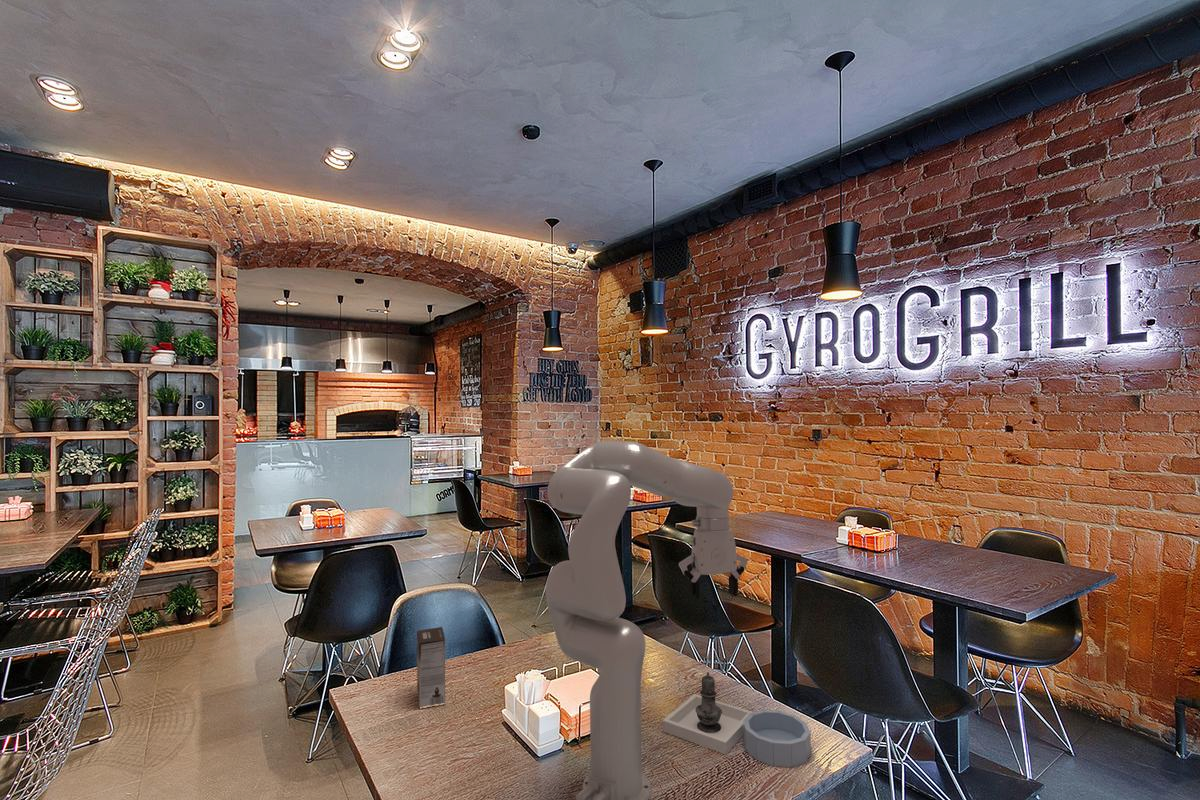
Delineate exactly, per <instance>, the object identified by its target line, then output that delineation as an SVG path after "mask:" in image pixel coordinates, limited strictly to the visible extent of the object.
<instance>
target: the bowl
mask: <svg viewBox="0 0 1200 800" xmlns="http://www.w3.org/2000/svg"><path fill="white" fill-rule="evenodd" d="M752 712H753V713H750V714H749V715H748V716H747V717H746V718H745V719H744V720H743V723H744V736H743V743H744V749H745V751H746V753H748V754H749V755H750V756H752V758H754V759H755V760H756V761H758V762H760V763H761V762H762V763H764V764H767V765H769V766H772V767H780V768H781V767H786V768H794V767H797V766H800V765H803V763H804V764H806V763H807V762H806V761H808V760H809V759H810V757H811V755H812V744H811V743H812V742H811V736H812V735H811V733H812V732H811V730H810V728H809V725H808V723H807V722H806V721H804V720H803V719H801V718H799V717H798V716H797V715H795V714H792V713H788V712H785V711H781V710H772V709H761V710H758V711H752ZM808 758H809V759H808Z"/></svg>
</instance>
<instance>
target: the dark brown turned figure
mask: <svg viewBox="0 0 1200 800" xmlns="http://www.w3.org/2000/svg"><path fill="white" fill-rule="evenodd" d="M715 684H716V681H715V678H714V677H713V676H711V675H710V672H708V671H707V673H706V675H704V676H702V678H701V690H700V692H699V694H700V696H702V703H701V705H699V706H697V707H696V709H695V711H696V713H697V716H698V719H699V720H700V722H698V724H697V728H698V729H699V730H700V731H702V732H705V733H716V732H718V731H720V730H721V725H720V724H719V723H718V721H719V720H720V717H721V714H722V710H721V709H720V708H719V707H718V706H716V703H715V700H716V697H717V692H716V689H715V688H716V685H715Z"/></svg>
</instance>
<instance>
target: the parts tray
mask: <svg viewBox="0 0 1200 800" xmlns="http://www.w3.org/2000/svg"><path fill="white" fill-rule="evenodd" d="M701 703H702V695H701V694H700V695H699V694H697V693H694V694H692V695H691V696H690V697H689V698H687V700H685V701H684V702H683V703H682V704H680V705H679V706H678V707H677V708H676V709H675V710H673V711H671V712H670V714H668V715H667V716H666V717H665V718H664V719H662V733H664V732H666V733H665V734H667V733H668V734H667V735H670V734H671V735H670V736H672V735H674V736H673V737H675V736H677V737H676V738H678V737H679V739H681V738H682V739H681V740H683V739H684V741H686V740H687V741H686V742H689V741H690V742H689V743H692V742H693V743H692V744H694V743H695V745H697V744H699V745H698V746H700V745H702V746H701V747H703V746H704V747H703V748H705V747H707V748H706V749H708V748H709V750H711V751H714V750H715V751H714V752H717V753H720V754H722V755H725V756H727V754H728V753H729V752H730V751H731V750H732V749H733V748H734V747H735V746H736V744H737V743H738V742H739V741H740V740H741V739H742V738H744V723H743V720H744V719H745V718H746V717H747V716H748V715H749V714H750V713H753V712H754V711H751V710H750V709H749V710H747V709H745V708H742V707H739V706H735V705H733V704H729V703H725V702H722V701H719V700H716V699H715V703H716V706H718V707H719V708H720V709H721V710H722V714H721V717H720V720H719V721H718V723H719V724H720V725H721V730H720V731H718V732H716V733H705V732H702V731H700V730H699V729H698V728H697V724H698V722H700V720H699V719H698V716H697V713H696V711H695V709H696V707H697V706H699V705H701ZM734 745H735V746H734ZM733 746H734V747H733ZM732 747H733V748H732Z"/></svg>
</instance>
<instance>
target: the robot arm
mask: <svg viewBox="0 0 1200 800" xmlns="http://www.w3.org/2000/svg"><path fill="white" fill-rule="evenodd" d="M631 487H634V488H637V489H640V490H642V491H645V492H647V493H650V494H653V495H654V496H655V495H656V496H659V497H663V498H669V499H672V500H673V501H674V502H675V503H677V504H679V505H681V506H684V507H695V508H696V516H695V519H692V520H691V526H692V527H696V529H694V531H693V536H692V542H691V543H692V545H691V555H689V556H687V557H686V558H684V559H682V560H681V561H679V562H678V567H679V568H680V570H681V573H682V574H683V575H684V576H685V577H686V578H687V579H688V581H689V594H690V595H691V597H692V598H693V599H695V600H696V601H697V600H699V599H700V583H699V582H698V580H699V578H700V577H701V576H703V575H704V576H705V575H706V576H707V575H709V576H710V575H723V574H729V575H730V576H728V580H727V581H728V593H729V594H730V595H731V596H733V597H737V596H738V592H739V579H740V578H741V575H742V574H743V573H744V572H745V570H746V569H745V568H747V567H746V566H747V564H748V562H749V560H748V558H745V557H743V556H742V555H740V554H738V553H737V546H736V545H737V544H736V540H735V535H734V531H733V529H731V528H730V515H729V514H730V511H729V510H730V509H729V505H730V504H731V503H732V501H733V497H734V488H733V484H732V482H731V480H730V479H729V477H728V475H727V474H726V473H725V472H720V471H717V470H715V469H714V468H713V469H712V468H710V467H708V466H704V465H703V466H702V465H699V464H695V463H692V462H688V461H686V460H682V459H677V458H674V457H670V456H668V455H666V454H663V453H662V452H660V451H658V450H655V449H653V448H651V447H649V446H647V445H645V444H643V443H642V442H641V443H640V442H636V441H630V440H601V441H597V442H595V443H592V444H591V445H588V446H587V447H586V448H585V449H583V450H582V451H580V452H579V453H578V454H576V455H575V456H574V457H572V458H571V459H570V460H568V461H567V462H565V463H564V464H563V465H562V466H560V467H558V469H556V471H554V473H553V475H552V476H551V477H550V480H549V482H548V485H547V498H548V500H549V503H550V505H552V507H553V508H555V509H556V510H558V511H560V512H562V513H566V514H567V513H568V514H574V515H581V518H580V519H579V520H578V523H577V525H576V526H575V528H574V529H573V531H572V533H571V536H569V537H570V538H569V540H568V546H567V550H568V551H567V553H568V558H569V560H563V561H560V562H558V563H556V564H555V566H553V567H552V568H551V570H550V572H549V574H548V576H547V579H546V582H545V599H546V605H547V609H548V612H549V615H550V616H549V617H550V619H551V624H552V627H553V631H554V634H555V639H556V641H557V644H558V646H559V648H560V650H561V652H562V653H563V654H564V655H565V657H567V658H569V659H571V660H573V661H575V662H579V663H582V664H585V665H586V666H587V665H588V666H591V667H592V668H594V669H597V670H598V671H599V673H598V677H597V679H596V680H595V682H594V683H593V685H592V687H591V689H590V693H589V729H590V730H589V732H590V733H589V734H590V735H589V736H590V741H589V743H590V772H589V773H588V775H587V776H586V777H585V778H584V780H583V782H582V789H581V790H580V791H579V792H578V793H577V794H576V795H575V800H649V799H650V796H651V792H652V791H651V790H652V789H651V788H652V787H651V781H650V780H649V778H648V777H647V775H646V774H644V772H643V762H642V761H643V755H642V753H643V752H642V749H643V747H642V746H643V745H642V703H641V702H642V692H641V691H642V690H641V689H642V688H641V687H642V673H643V666H644V660H645V653H646V638H645V634H644V633H643V631H642V630H641V628H640V627H639V626H638V625H636V624H635V623H633V622H632V621H630V620H627V619H624V618H621V617H620V616H621V615H622V614H623V612H624V611H625V608H626V603H627V597H626V591H625V584H624V581H623V576H622V573H621V568H620V564H619V559H618V554H617V550H616V536H617V532H618V530H619V527H620V524H621V521H622V520H623V517H624V515H625V513H626V511H627V509H628V507H629V504H630V502H631V498H632V497H631V496H632V493H631V492H632V488H631ZM738 562H739V564H738ZM690 564H691V567H692V570H691V571H689V570H688V566H689V565H690Z"/></svg>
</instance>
